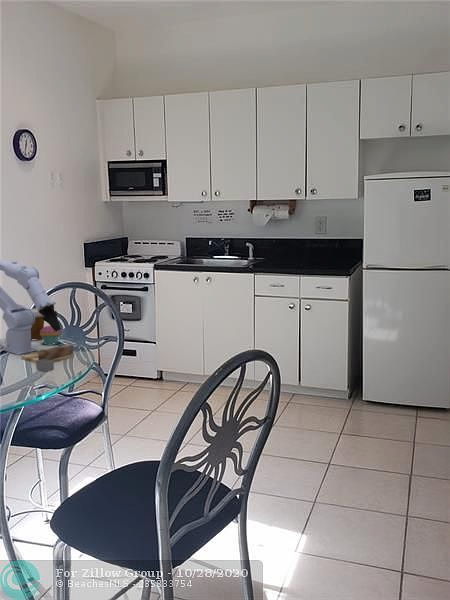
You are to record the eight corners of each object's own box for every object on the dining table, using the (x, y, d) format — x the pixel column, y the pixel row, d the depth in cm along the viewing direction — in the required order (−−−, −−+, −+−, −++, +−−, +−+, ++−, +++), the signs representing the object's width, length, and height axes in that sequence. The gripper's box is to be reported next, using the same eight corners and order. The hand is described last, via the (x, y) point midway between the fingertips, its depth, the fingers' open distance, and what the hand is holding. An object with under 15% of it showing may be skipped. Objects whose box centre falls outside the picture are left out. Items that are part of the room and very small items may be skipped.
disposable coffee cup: (39, 342, 248) (38, 313, 246) (18, 340, 250) (17, 311, 248) (50, 337, 257) (50, 309, 255) (29, 335, 259) (29, 307, 257)
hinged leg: (41, 360, 217) (41, 351, 216) (36, 359, 218) (36, 349, 218) (73, 353, 227) (73, 343, 227) (68, 351, 229) (68, 342, 228)
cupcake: (44, 340, 251) (43, 311, 249) (64, 341, 251) (63, 312, 249) (37, 345, 243) (36, 316, 241) (58, 346, 243) (57, 316, 240)
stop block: (36, 368, 212) (36, 360, 212) (45, 366, 215) (44, 358, 214) (45, 371, 209) (44, 363, 209) (53, 369, 212) (53, 361, 211)
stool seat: (21, 358, 224) (21, 355, 224) (53, 351, 235) (53, 348, 235) (41, 365, 217) (41, 361, 216) (73, 357, 228) (73, 354, 227)
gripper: (46, 285, 219) (64, 317, 217) (51, 297, 233) (69, 327, 231) (28, 294, 217) (46, 327, 215) (34, 306, 231) (51, 336, 229)
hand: (57, 327), depth 223 cm, fingers open, 7 cm apart
